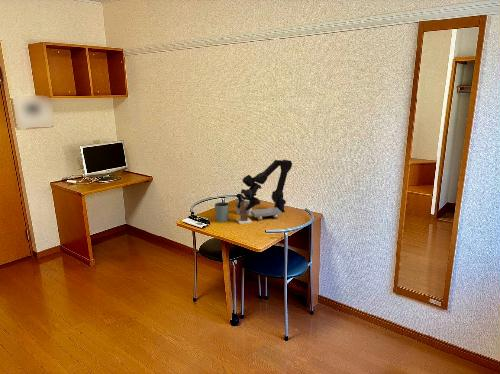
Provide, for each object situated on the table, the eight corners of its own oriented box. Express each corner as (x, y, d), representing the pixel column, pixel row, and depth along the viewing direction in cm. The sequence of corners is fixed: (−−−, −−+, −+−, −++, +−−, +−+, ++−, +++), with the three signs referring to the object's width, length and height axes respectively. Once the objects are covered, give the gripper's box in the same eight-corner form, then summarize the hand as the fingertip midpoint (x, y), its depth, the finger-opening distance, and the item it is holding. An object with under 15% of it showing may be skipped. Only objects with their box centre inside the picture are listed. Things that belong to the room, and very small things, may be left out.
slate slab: (276, 213, 284) (276, 207, 283) (281, 218, 274) (281, 211, 272) (250, 216, 279) (250, 210, 277) (254, 221, 268) (254, 214, 267)
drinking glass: (212, 220, 273) (211, 204, 270) (223, 216, 280) (222, 201, 277) (221, 223, 266) (220, 207, 263) (232, 220, 273) (231, 203, 270)
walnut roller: (246, 218, 272) (246, 200, 268) (248, 220, 268) (248, 203, 264) (239, 219, 271) (239, 201, 267) (241, 221, 266) (241, 203, 263)
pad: (248, 218, 275) (248, 217, 275) (252, 222, 266) (252, 221, 266) (236, 220, 272) (236, 218, 272) (239, 224, 264) (239, 222, 264)
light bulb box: (236, 214, 285) (235, 200, 282) (238, 211, 291) (238, 197, 289) (250, 214, 283) (250, 200, 280) (252, 212, 289) (252, 198, 286)
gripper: (237, 182, 272) (226, 200, 267) (257, 186, 259) (246, 206, 254) (245, 190, 279) (235, 208, 274) (264, 195, 267) (254, 214, 262)
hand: (242, 209), depth 266 cm, fingers open, 8 cm apart
